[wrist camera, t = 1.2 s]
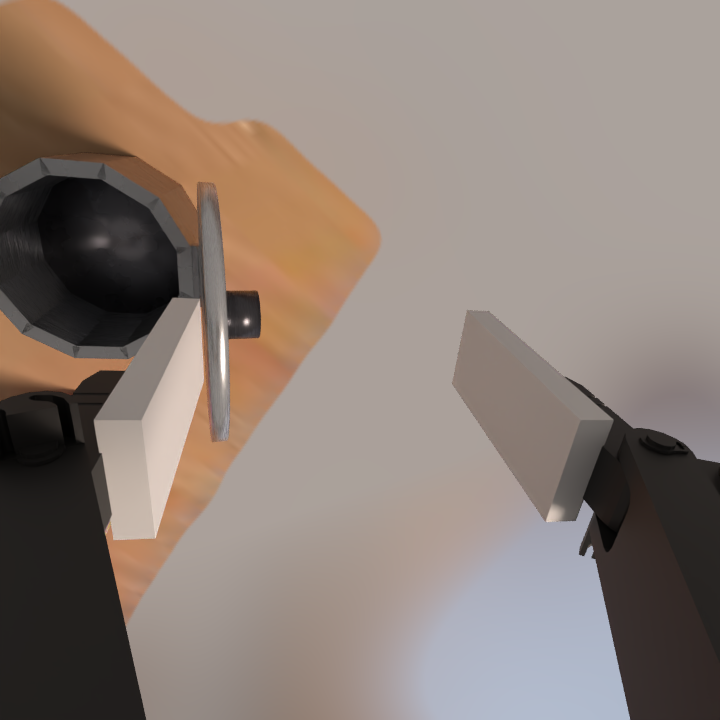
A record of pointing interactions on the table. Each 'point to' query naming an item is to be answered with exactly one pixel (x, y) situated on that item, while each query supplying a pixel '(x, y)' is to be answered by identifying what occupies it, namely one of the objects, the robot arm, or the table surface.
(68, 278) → the pot
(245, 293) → the lid
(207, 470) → the table surface
